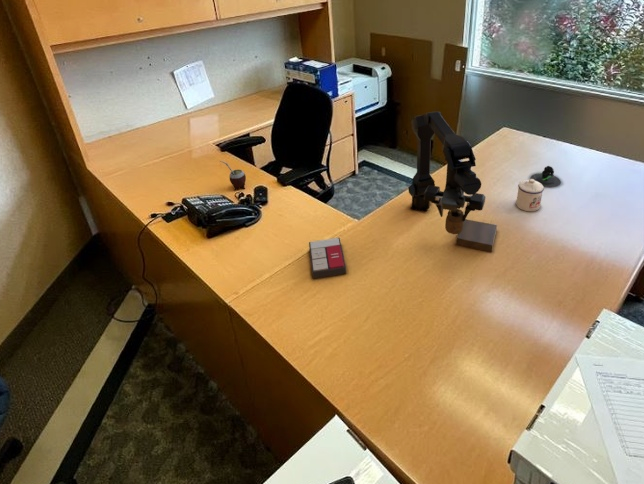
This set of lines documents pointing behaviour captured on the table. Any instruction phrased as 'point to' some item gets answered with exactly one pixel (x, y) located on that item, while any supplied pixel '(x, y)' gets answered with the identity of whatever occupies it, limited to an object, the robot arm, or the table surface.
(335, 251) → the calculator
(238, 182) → the mate gourd
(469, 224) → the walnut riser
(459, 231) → the utensil holder
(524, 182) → the teacup with lid
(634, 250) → the table surface
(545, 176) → the dark grey hat
